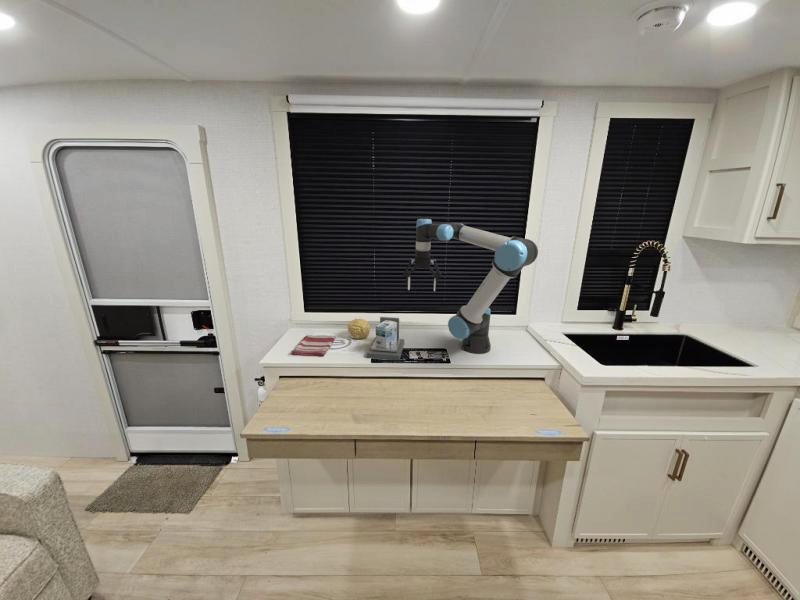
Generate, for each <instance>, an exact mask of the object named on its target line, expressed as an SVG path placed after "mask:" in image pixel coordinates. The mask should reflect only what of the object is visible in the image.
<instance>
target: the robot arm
mask: <svg viewBox="0 0 800 600" xmlns="http://www.w3.org/2000/svg"><path fill="white" fill-rule="evenodd" d="M415 229H416V230H415V231H416V233H415V235H416V236H415V238H416V239H415V259H413V258H409V259H408V264H407V266H406V269H405V270H404V271H403V274H402V277H405V284H406V285H407V290H408V291H410V289H411V275H412V274H413V273H414V271H416V270H417V268H419V269H428V270H429V272H430V273H431V275H432V276H433V277H434V278H433V279H434V281H433V292H436V286H438V283H439V279H441V278H442V277H443V276H442V273H441V271H440V269H439V266H438V265H437V259H431V244H432V243H431V242H432V240H436V241H447V242H448V241H450V240H451V239H452V240H453V239H454V240H457V241H462V242H465V243H468V244H472V245H474V246H478V247H482V248H485V249H487V250H491V251H495V252H494V259H493V261H492V262H491V265H492V268H491V269H490V271H489V273H488V274H487V275H486V276H485V278H484V280H483V281H482V283H481V284H480V285H479V287H478V288H477V290H476V291H475V292H474V294H473V295H472V297H471V298H470V299H469V301H468V303H467V304H466V305H462V306H461V307H460V308H459V310H458V311H457V313H456V314H455V315H453V316H451V317H450V318H449V319H448V322H447V328H448V331H449V333H450V334H451V335H452V336H453V337H454V338H455V339H458V340H461V344H460V346H461V349H462V350H464V351H466V352H468V353H472V354H477V355H478V354H487V353H489V352H490V351H491V347H492V345H491V340H490V337H489V333H490V325H491V324H490V322H491V315H492V314H491V311H492V310H491V308H490V306H491V304H492V303H493V302H494V300H495V299H496V298H497V297H498V296H499V294H500V292H501V291H502V290H503V289H504V287H505V286H506V285H507V283H508V282H509V281H510V280H511V279H515V278H516V277H517V276H518V275H519V274H520V272H521V271H522V270H523V269H524V267H526V266H527V267H528V266H529V265H531V264H533V263H534V262H535V261H536V260H537V258H538V256H539V255H538V254H539V250H538V245H537V244H536V243H535V242H534V241H533V240H531V239H529V238H522V237H519V236H512V237H509V236H504V235H501V234H497V233H494V232H491V231H490V232H489V231H486V230H482V229H479V228H474V227H470V226H467V225H465V224H464V223H460V222H455V223H454V222H453V223H433V222H432V219H430V218H418V219H417V220H416V227H415ZM413 263H414V264H415V265H414V266H413V267H412V269H411V270H410V267H411V266H412V264H413ZM430 264H432V265H433V266H434V268H432V267H431V265H430ZM433 269H435V271H436V272H435V271H434V270H433ZM408 271H409V272H408Z"/></svg>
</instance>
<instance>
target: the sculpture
mask: <svg viewBox="0 0 800 600" xmlns="http://www.w3.org/2000/svg"><path fill="white" fill-rule="evenodd" d="M347 331H348V333H349V334H350V336H351V337H352V338H353V339H355V340H362V339H365V338H367V337H368V336H369V335H370V331H371V325H370V324H369V322H368V321H367V320H365V319H363V318H355V319H352V320H349V322H348V324H347Z"/></svg>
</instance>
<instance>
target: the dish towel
mask: <svg viewBox="0 0 800 600" xmlns="http://www.w3.org/2000/svg"><path fill="white" fill-rule="evenodd" d="M336 338H337V337H336V336H334V335H313V334H306V335H304V337H303V338H302V340H301V341H300V342H299V343H298V344H297V345H296V347H294V349H292V350H291V351H290V353H291V356H302V357H319V358H322V357H325V355H326V354H327V352H328V351H329V349H330V348H331V347H332V344H333V343H334V342H335V340H336Z"/></svg>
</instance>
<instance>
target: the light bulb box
mask: <svg viewBox="0 0 800 600" xmlns="http://www.w3.org/2000/svg"><path fill="white" fill-rule="evenodd" d="M375 337H376V346H379V347H383V348H388V347H389V346H391V345H392V344H394V343H395V342H397V322H393V321H389V320H385V321H384V322H382V323H380V322H379V324H376V325H375Z"/></svg>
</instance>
